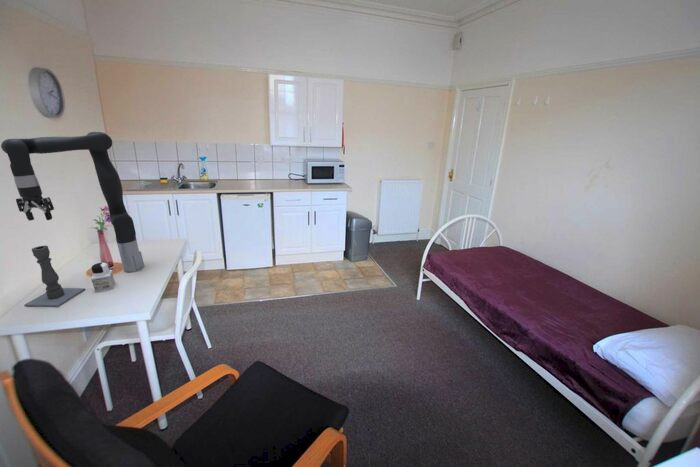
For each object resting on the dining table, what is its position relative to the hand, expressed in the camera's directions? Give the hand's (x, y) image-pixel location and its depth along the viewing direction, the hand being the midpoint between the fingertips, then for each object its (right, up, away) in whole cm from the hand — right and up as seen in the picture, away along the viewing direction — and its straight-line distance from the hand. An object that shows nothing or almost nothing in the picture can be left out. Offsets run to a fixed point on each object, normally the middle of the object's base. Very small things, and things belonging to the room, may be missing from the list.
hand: (40, 219), depth 154 cm
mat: (+2, -37, +7) cm, 38 cm away
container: (+18, -34, +16) cm, 42 cm away
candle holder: (+2, -37, +6) cm, 37 cm away
